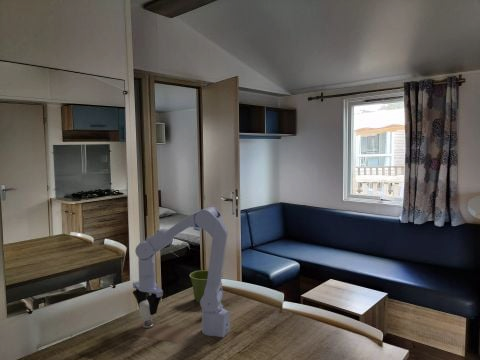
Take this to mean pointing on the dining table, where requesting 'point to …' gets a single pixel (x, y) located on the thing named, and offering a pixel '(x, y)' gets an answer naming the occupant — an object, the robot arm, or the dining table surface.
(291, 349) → the dining table surface
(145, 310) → the cap
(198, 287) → the plant pot
